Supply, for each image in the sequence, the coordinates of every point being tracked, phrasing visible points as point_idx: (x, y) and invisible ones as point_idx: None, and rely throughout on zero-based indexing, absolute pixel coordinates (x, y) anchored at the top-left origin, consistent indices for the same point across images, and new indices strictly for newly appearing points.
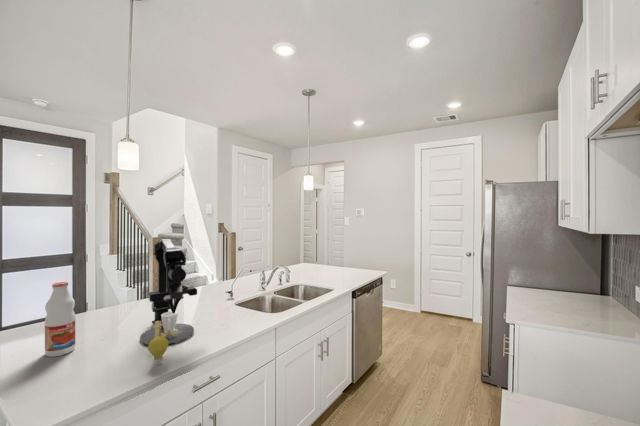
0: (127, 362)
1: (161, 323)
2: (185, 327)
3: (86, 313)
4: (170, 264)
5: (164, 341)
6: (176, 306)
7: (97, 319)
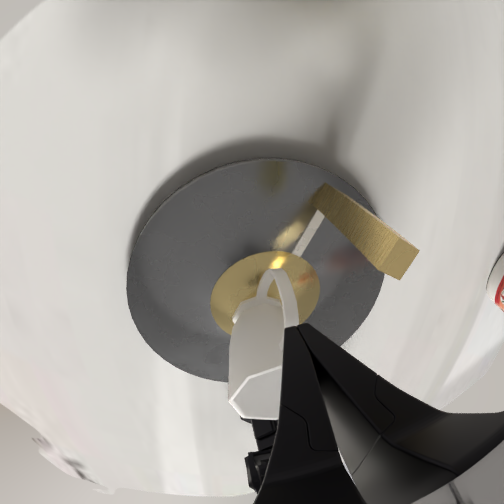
0: (434, 76)
1: None
2: (175, 334)
3: None
4: None
5: None
6: (290, 393)
7: None
